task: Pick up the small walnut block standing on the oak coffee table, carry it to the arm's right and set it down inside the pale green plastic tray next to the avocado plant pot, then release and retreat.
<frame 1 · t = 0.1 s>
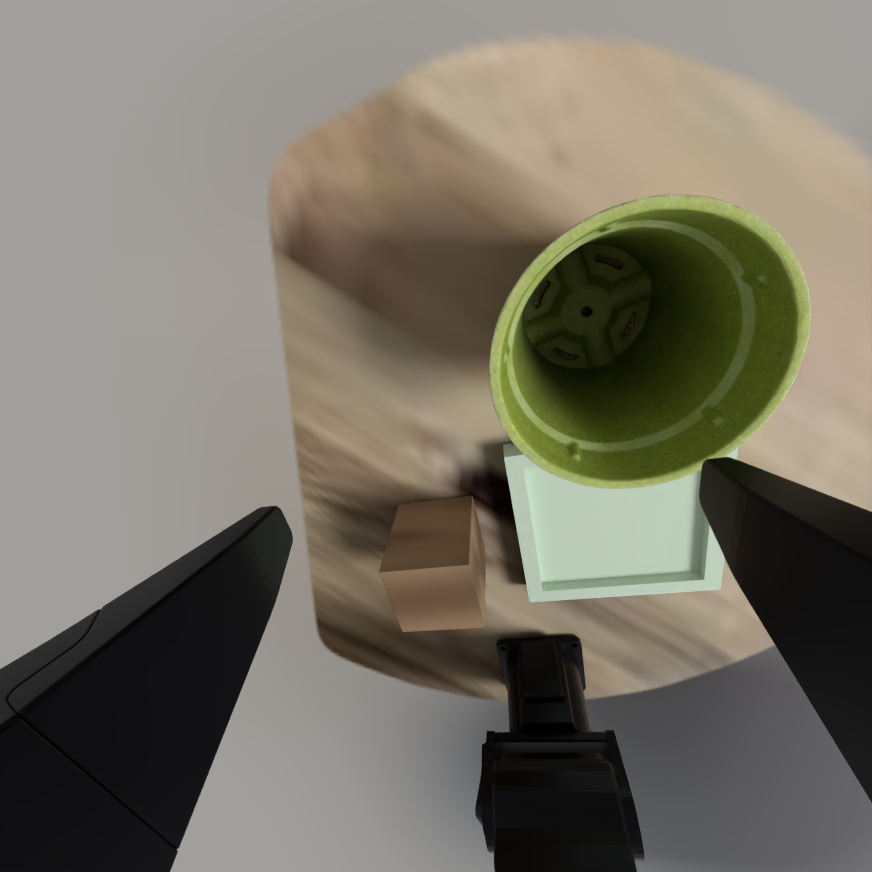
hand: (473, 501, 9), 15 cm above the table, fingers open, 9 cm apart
green tray: (612, 511, 26), on the table
plant pot: (581, 307, 21), on the table
walnut block: (443, 528, 28), on the table
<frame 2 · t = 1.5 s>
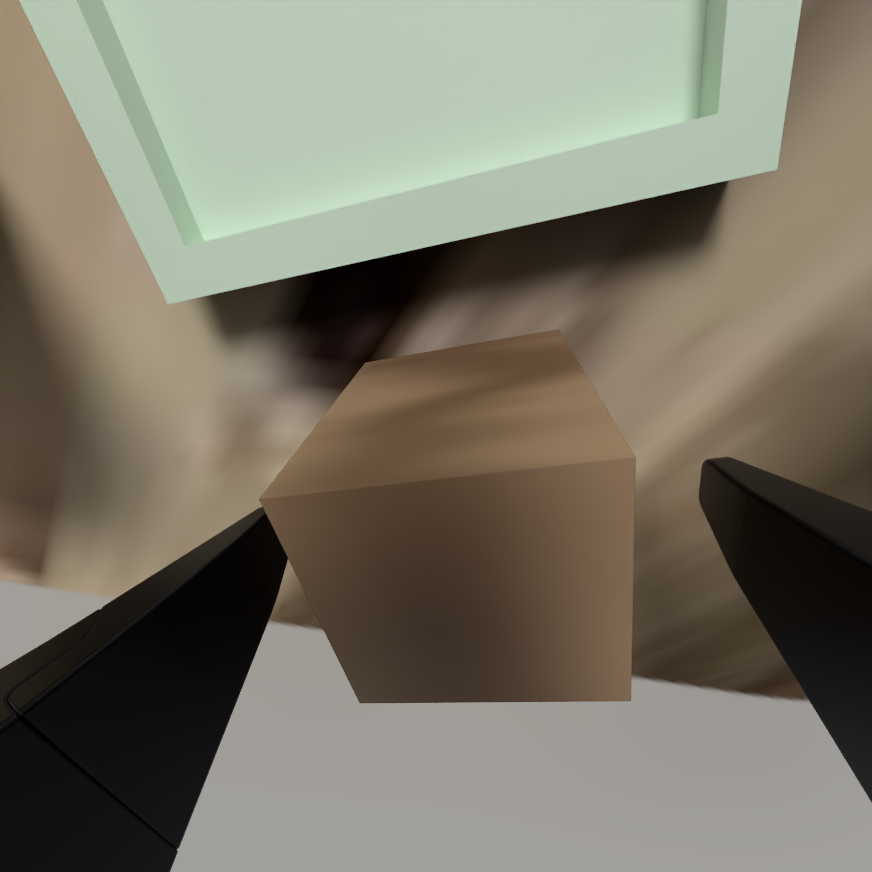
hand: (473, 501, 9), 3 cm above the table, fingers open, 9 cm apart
walnut block: (473, 431, 12), on the table
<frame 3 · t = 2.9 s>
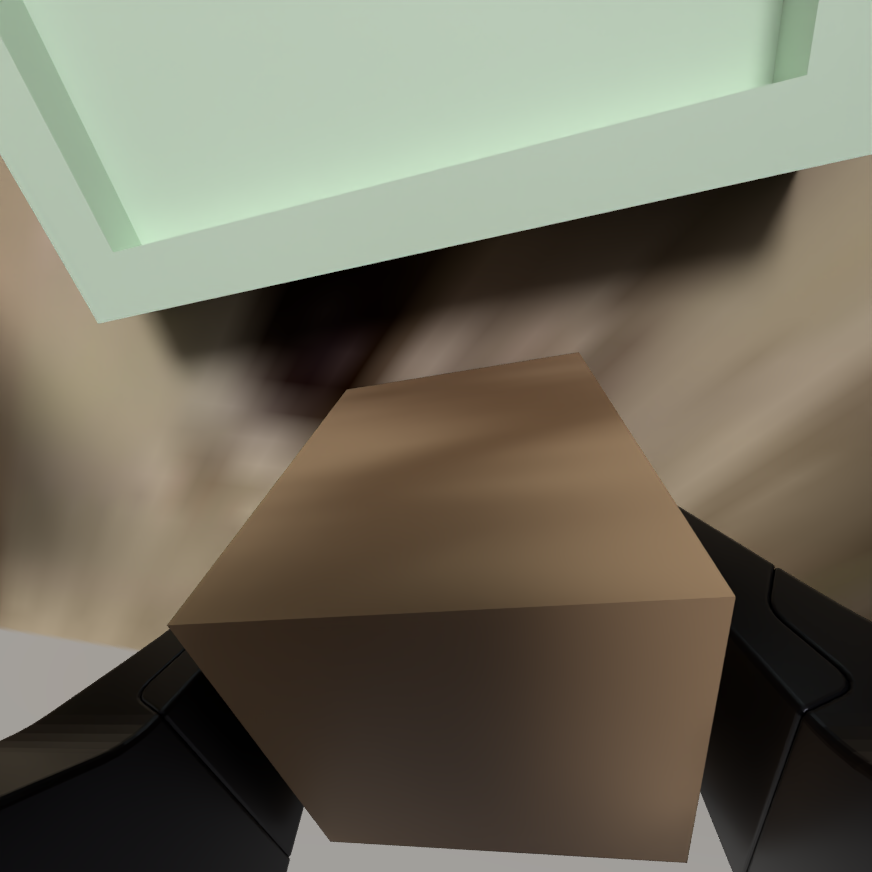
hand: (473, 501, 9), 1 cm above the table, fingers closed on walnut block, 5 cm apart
walnut block: (475, 469, 10), on the table, touching gripper
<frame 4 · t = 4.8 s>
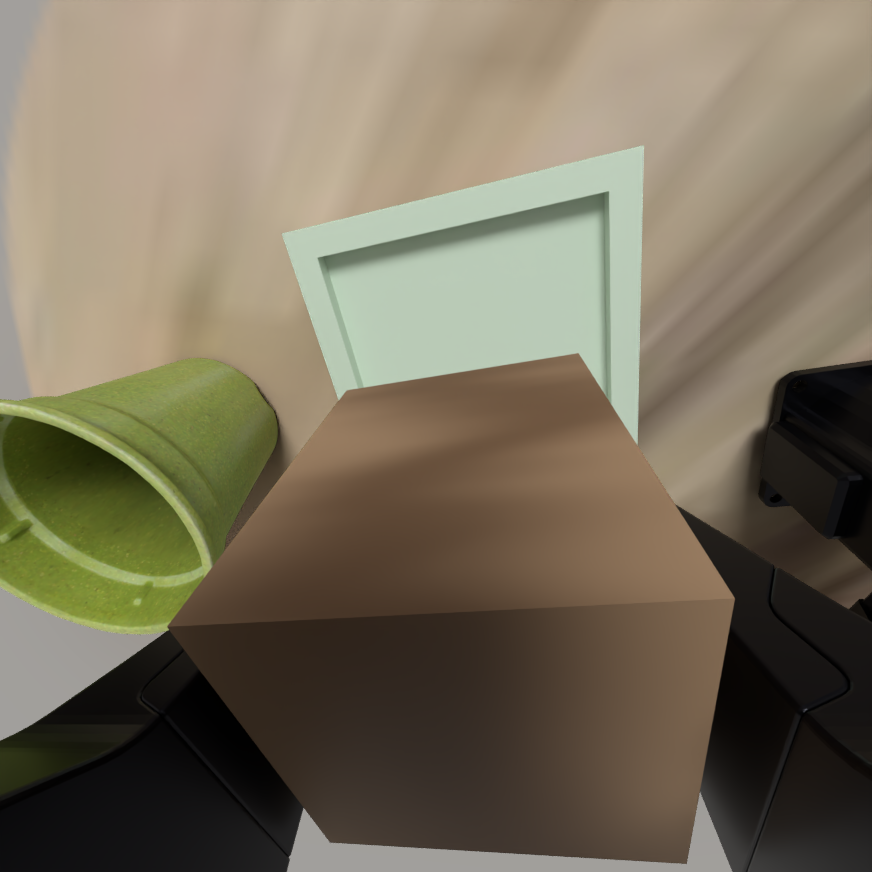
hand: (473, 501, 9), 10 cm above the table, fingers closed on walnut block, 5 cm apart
green tray: (477, 354, 18), on the table
plant pot: (221, 415, 21), on the table
walnut block: (475, 470, 10), point 9 cm above the table, touching gripper
when the fingers open (3 cm above the table, at t = 6.7 s): walnut block stays where it is, resting on green tray.
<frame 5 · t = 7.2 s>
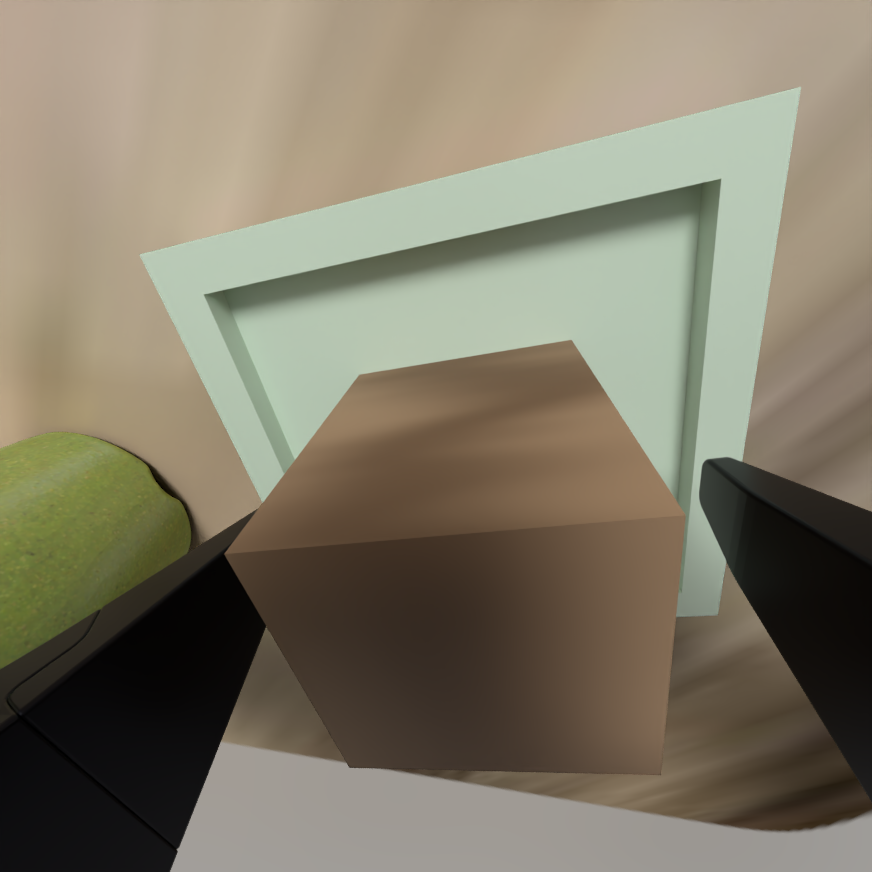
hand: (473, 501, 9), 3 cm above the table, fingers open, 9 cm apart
green tray: (475, 434, 11), on the table
plant pot: (113, 503, 15), on the table
walnut block: (476, 449, 11), point 1 cm above the table, touching green tray
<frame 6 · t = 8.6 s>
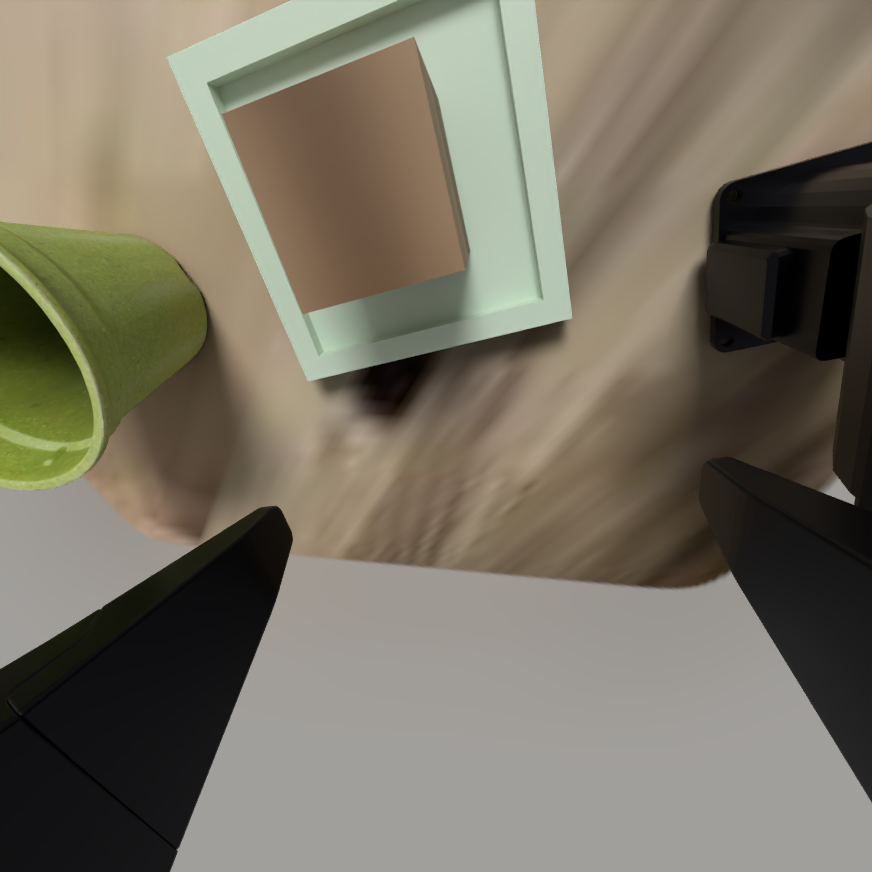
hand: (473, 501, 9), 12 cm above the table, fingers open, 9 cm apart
green tray: (395, 200, 17), on the table
plant pot: (150, 304, 20), on the table
walnut block: (392, 200, 16), point 1 cm above the table, touching green tray
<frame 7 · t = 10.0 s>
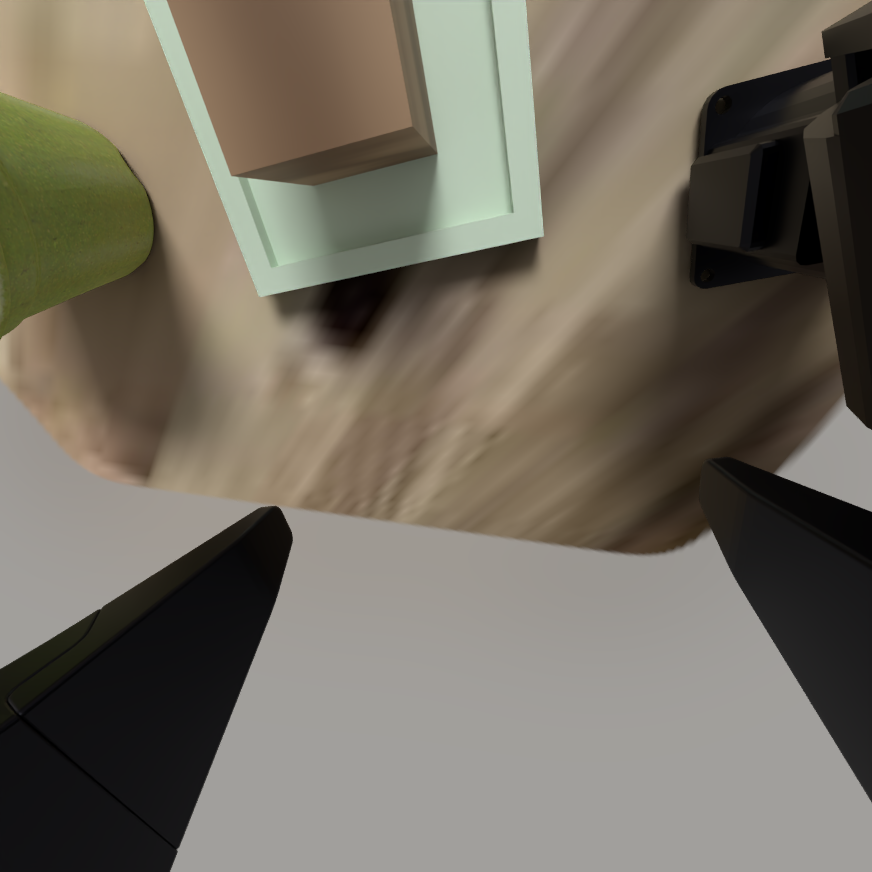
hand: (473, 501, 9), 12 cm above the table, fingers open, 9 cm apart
green tray: (359, 92, 15), on the table
plant pot: (93, 205, 18), on the table
walnut block: (354, 88, 15), point 1 cm above the table, touching green tray
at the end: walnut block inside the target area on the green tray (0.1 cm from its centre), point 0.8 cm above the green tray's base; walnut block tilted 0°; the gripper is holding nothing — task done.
